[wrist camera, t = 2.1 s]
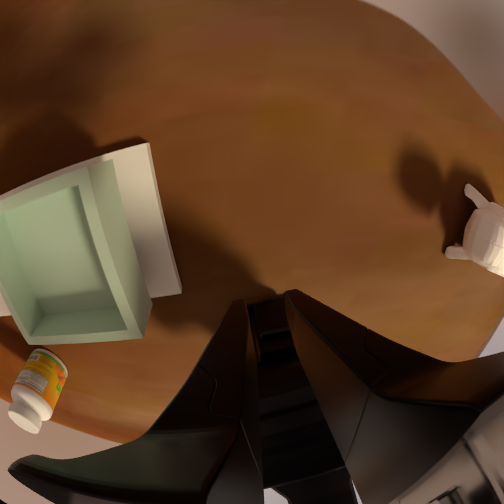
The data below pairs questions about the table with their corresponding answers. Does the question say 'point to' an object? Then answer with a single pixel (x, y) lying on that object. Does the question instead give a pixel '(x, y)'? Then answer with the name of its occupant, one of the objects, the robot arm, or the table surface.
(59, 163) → the table surface
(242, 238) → the table surface
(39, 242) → the sage green storage bin
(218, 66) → the table surface
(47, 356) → the supplement bottle
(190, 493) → the robot arm
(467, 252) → the white animal figurine
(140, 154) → the board
